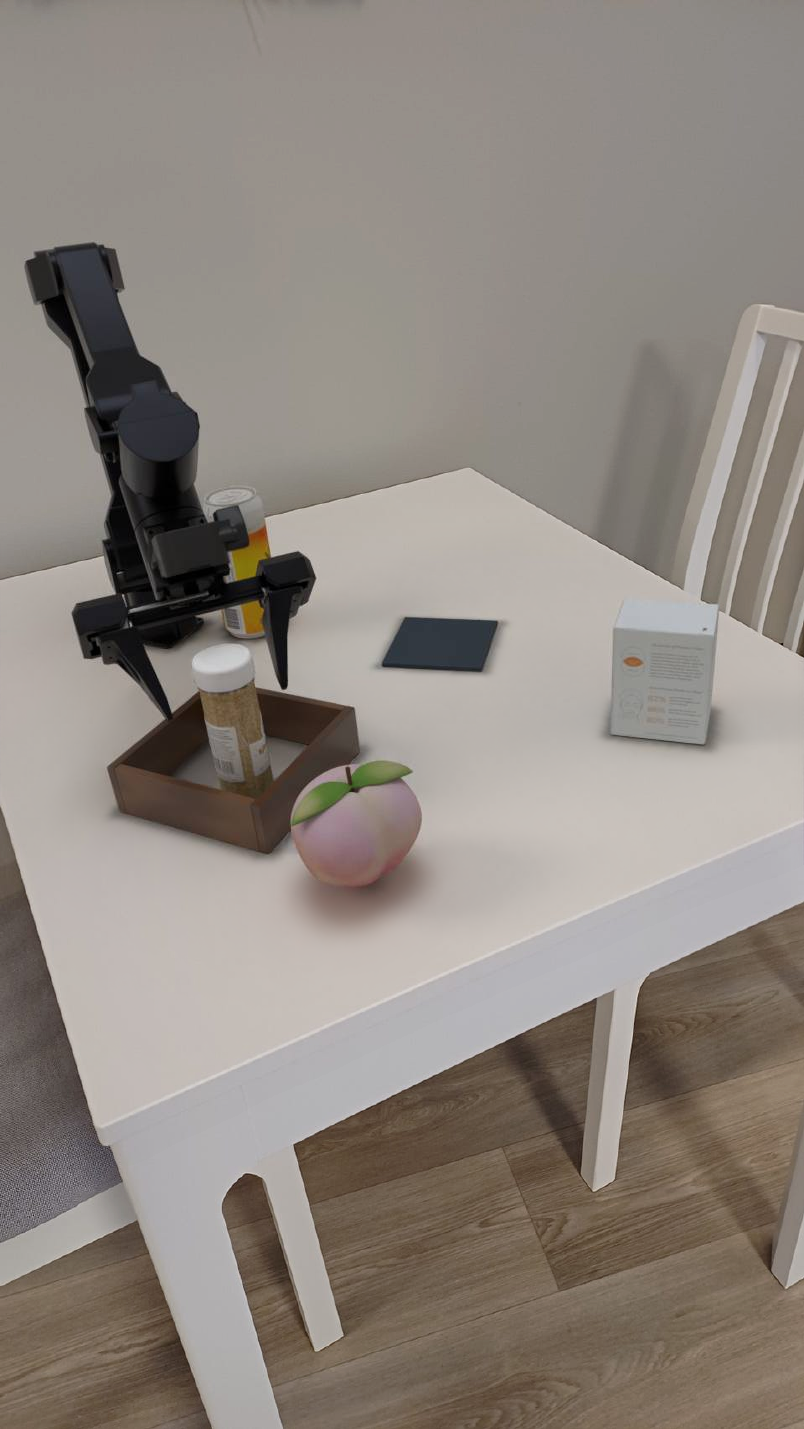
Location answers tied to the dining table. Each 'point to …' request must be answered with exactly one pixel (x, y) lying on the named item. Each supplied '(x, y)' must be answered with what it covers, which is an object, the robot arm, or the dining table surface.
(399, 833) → the decorative fruit
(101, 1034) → the dining table surface
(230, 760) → the sprinkles bottle
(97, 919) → the dining table surface
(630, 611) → the small box
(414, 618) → the slate mat
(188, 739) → the walnut box
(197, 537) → the robot arm
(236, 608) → the beer can
